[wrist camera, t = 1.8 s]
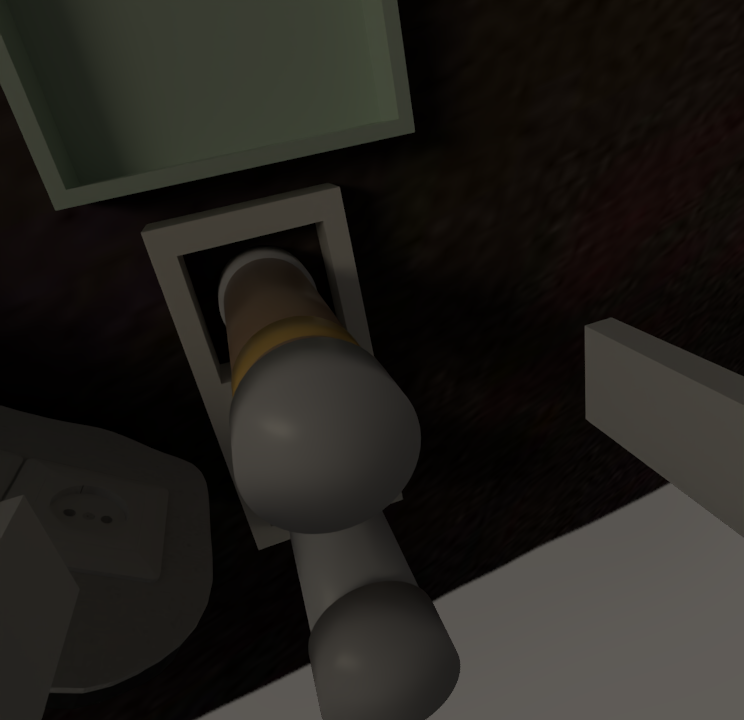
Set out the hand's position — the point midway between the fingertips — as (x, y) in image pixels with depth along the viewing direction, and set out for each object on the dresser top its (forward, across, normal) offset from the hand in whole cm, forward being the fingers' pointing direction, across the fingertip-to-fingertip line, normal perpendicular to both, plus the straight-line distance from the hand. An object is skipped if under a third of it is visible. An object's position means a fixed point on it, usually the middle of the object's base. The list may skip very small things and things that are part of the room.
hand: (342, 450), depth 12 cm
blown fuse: (+15, 0, 0) cm, 15 cm away
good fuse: (+15, 0, -9) cm, 17 cm away
